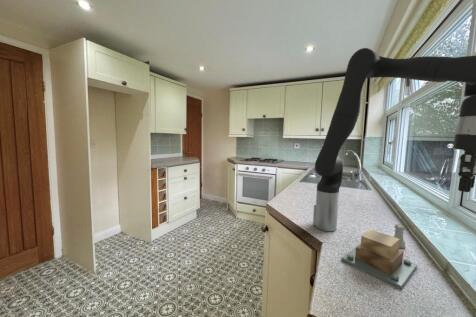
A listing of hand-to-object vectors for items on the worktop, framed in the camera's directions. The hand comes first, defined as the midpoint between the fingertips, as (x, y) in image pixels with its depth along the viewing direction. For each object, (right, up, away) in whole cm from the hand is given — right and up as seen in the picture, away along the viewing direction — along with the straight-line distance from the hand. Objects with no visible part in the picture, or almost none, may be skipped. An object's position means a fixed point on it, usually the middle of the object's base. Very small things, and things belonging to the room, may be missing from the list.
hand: (465, 189), depth 58 cm
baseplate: (-21, -25, +7) cm, 34 cm away
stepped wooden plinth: (-21, -25, +7) cm, 34 cm away
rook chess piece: (-5, -25, +19) cm, 32 cm away
